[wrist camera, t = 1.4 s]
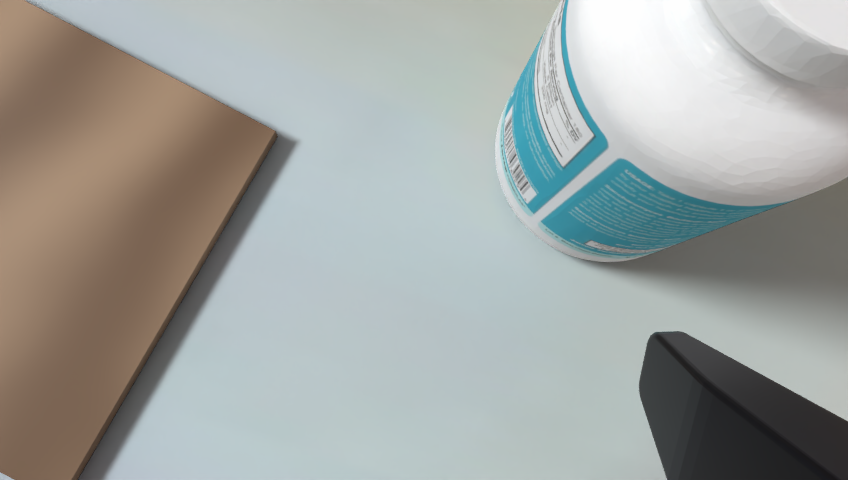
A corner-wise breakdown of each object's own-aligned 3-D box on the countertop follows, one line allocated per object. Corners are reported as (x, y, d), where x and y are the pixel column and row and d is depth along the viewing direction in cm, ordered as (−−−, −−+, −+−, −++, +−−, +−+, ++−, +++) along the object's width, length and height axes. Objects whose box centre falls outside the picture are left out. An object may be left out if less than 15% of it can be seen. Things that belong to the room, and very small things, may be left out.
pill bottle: (737, 162, 24) (1179, -63, 11) (602, 310, 23) (920, 255, 10) (585, 19, 25) (837, -362, 12) (444, 157, 24) (545, -94, 10)
